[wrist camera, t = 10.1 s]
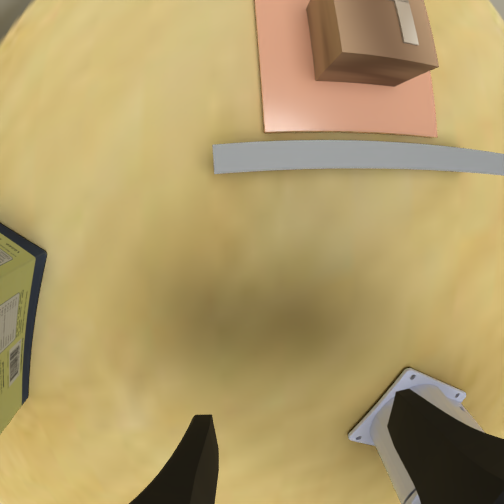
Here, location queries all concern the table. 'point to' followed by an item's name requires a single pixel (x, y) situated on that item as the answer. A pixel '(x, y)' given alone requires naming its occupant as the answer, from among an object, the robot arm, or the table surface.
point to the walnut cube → (370, 41)
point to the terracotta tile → (328, 85)
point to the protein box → (17, 317)
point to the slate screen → (351, 156)
